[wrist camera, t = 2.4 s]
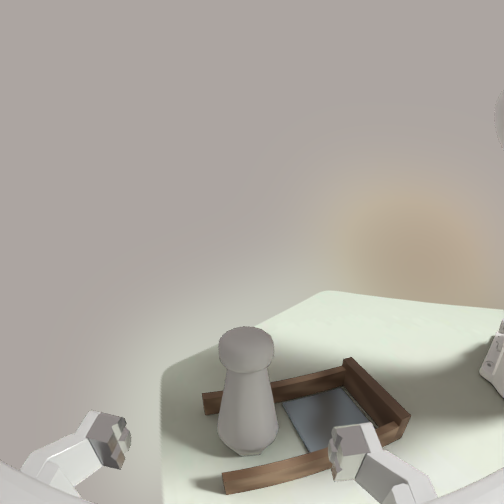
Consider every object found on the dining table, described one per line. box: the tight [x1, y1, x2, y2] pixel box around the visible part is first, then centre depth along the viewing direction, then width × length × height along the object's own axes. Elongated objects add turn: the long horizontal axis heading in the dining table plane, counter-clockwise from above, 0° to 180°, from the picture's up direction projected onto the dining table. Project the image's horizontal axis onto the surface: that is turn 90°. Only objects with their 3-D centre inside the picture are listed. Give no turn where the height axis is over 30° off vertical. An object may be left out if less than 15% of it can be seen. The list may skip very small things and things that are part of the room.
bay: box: [202, 357, 411, 495], centre depth 27 cm, size 18×12×4 cm, turn 105°
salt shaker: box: [217, 326, 279, 456], centre depth 24 cm, size 6×6×13 cm
